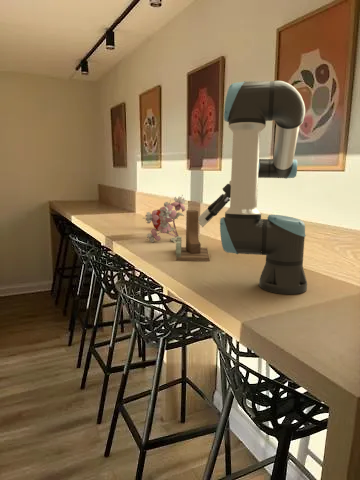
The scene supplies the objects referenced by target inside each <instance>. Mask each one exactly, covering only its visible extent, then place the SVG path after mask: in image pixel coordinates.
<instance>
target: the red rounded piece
mask: <svg viewBox="0 0 360 480" xmlns="http://www.w3.org/2000/svg"><path fill="white" fill-rule="evenodd" d="M157 211H158V212H157V213H156V215H157V216H159V214H160V208H159V209H157ZM159 217H160V216H159ZM160 222H161V220H160V218H159V219H158V220H157V222H156V223H158V224H157V225H154V224H153V222H152V221H151V223H152V225H153V229H155V230H156V231H159V230H158V227H159V225H160V224H161V223H160ZM162 222H163V221H162Z"/></svg>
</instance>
